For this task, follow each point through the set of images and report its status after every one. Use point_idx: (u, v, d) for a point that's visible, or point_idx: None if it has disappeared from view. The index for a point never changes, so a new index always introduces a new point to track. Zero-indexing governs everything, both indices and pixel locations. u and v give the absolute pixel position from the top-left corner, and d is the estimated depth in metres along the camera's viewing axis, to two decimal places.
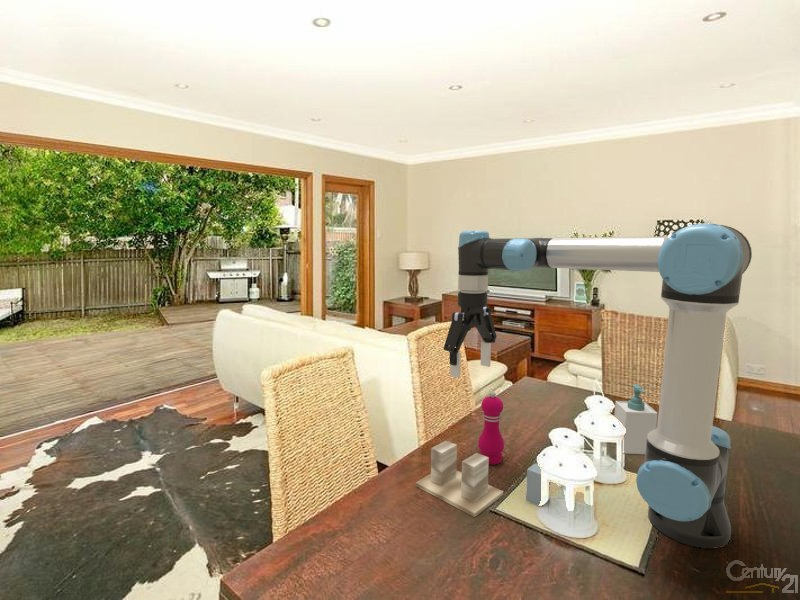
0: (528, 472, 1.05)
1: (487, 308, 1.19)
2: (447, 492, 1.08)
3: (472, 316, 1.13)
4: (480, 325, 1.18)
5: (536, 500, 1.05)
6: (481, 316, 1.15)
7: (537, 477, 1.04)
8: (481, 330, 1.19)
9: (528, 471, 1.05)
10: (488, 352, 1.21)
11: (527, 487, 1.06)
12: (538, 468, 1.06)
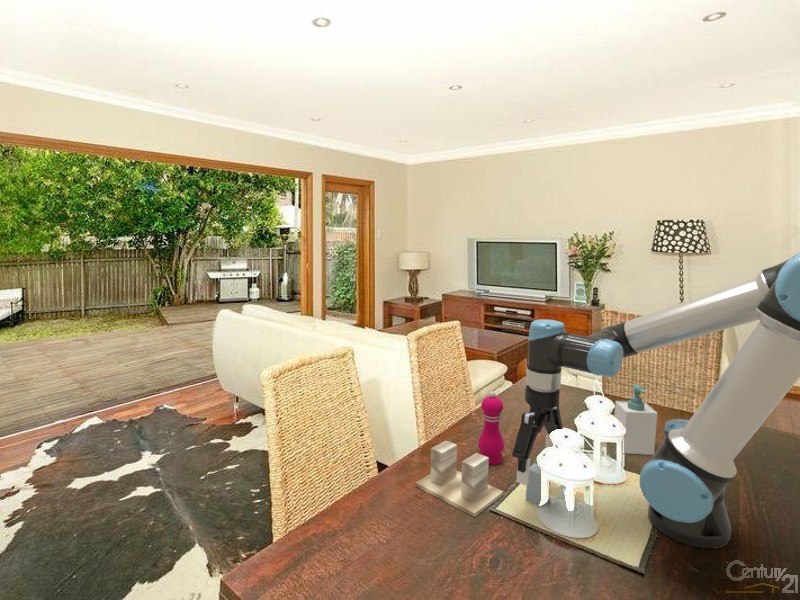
0: None
1: None
2: (447, 492, 1.08)
3: (542, 416, 1.01)
4: (548, 422, 1.06)
5: (536, 500, 1.05)
6: (551, 414, 1.03)
7: (537, 477, 1.04)
8: (549, 426, 1.07)
9: None
10: None
11: (527, 487, 1.06)
12: (538, 468, 1.06)
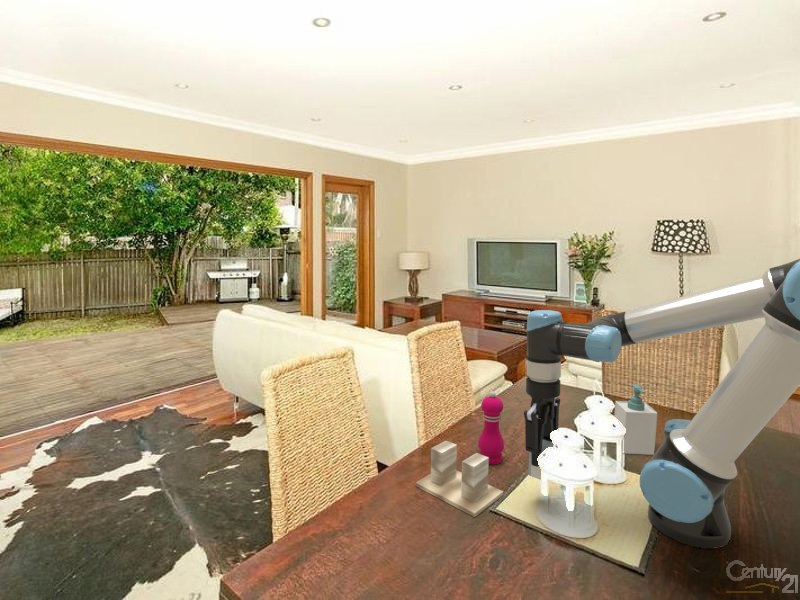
0: None
1: (557, 399, 1.07)
2: (447, 492, 1.08)
3: (544, 408, 1.01)
4: (547, 417, 1.04)
5: None
6: (553, 405, 1.03)
7: None
8: (547, 425, 1.05)
9: None
10: None
11: (529, 461, 1.05)
12: None
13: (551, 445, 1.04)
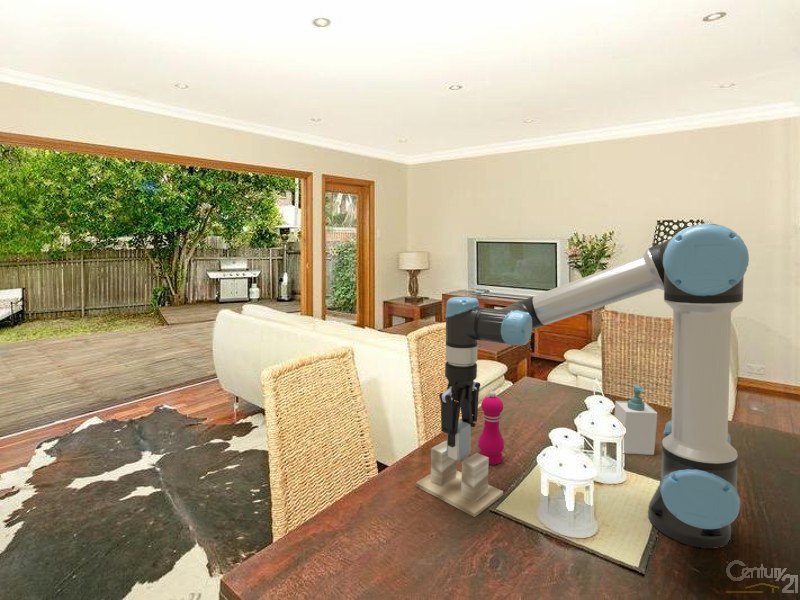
0: None
1: (477, 383, 1.11)
2: (447, 492, 1.08)
3: (460, 391, 1.05)
4: (465, 400, 1.08)
5: None
6: (470, 389, 1.07)
7: None
8: (465, 407, 1.09)
9: None
10: None
11: None
12: (458, 423, 1.09)
13: (468, 426, 1.08)
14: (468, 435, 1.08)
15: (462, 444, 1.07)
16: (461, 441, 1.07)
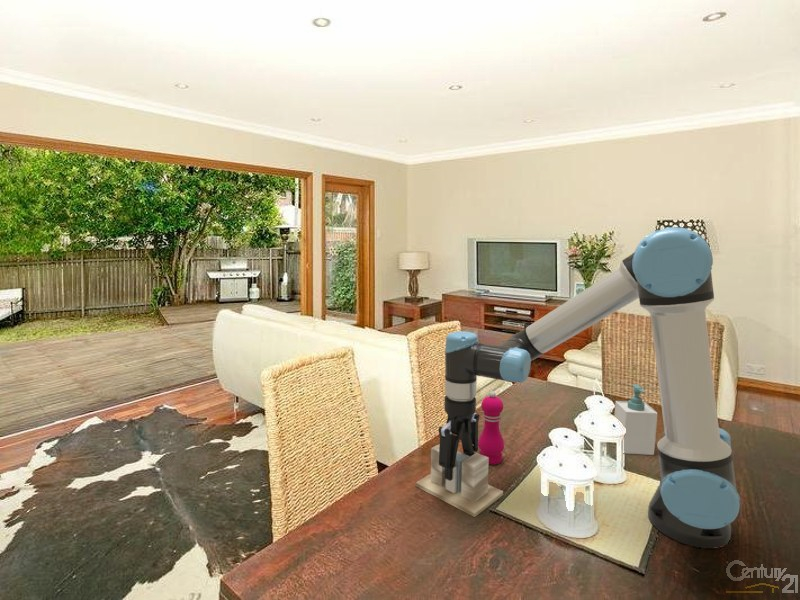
0: None
1: (476, 414, 1.12)
2: (447, 492, 1.08)
3: (459, 425, 1.06)
4: (465, 433, 1.09)
5: None
6: (469, 422, 1.08)
7: None
8: (465, 439, 1.10)
9: None
10: None
11: None
12: (457, 455, 1.10)
13: (466, 458, 1.09)
14: None
15: (461, 476, 1.08)
16: (460, 473, 1.08)
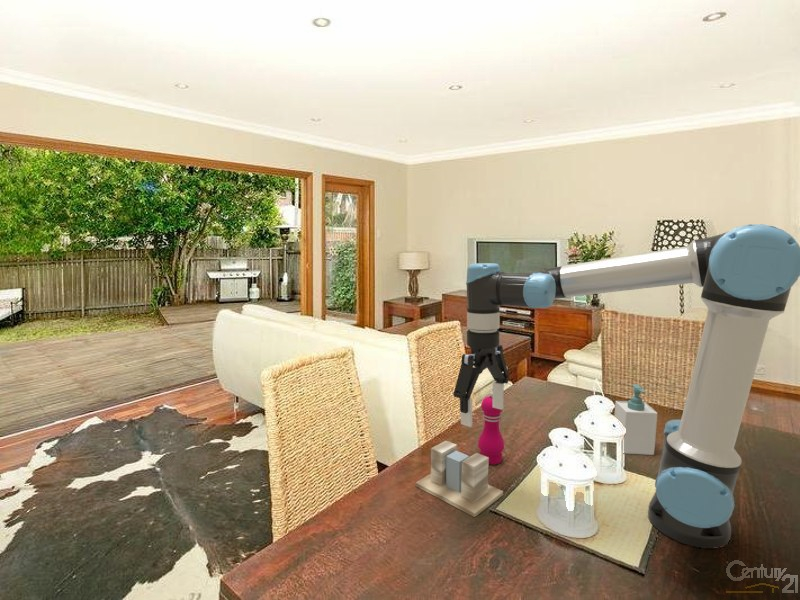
0: (447, 459, 1.10)
1: (499, 346, 1.09)
2: (447, 492, 1.08)
3: (483, 357, 1.03)
4: (492, 365, 1.07)
5: (454, 486, 1.09)
6: (493, 356, 1.05)
7: (454, 464, 1.08)
8: (493, 371, 1.09)
9: (447, 458, 1.10)
10: (501, 394, 1.10)
11: (446, 473, 1.10)
12: (457, 455, 1.10)
13: (466, 458, 1.09)
14: None
15: (461, 476, 1.08)
16: (460, 473, 1.08)
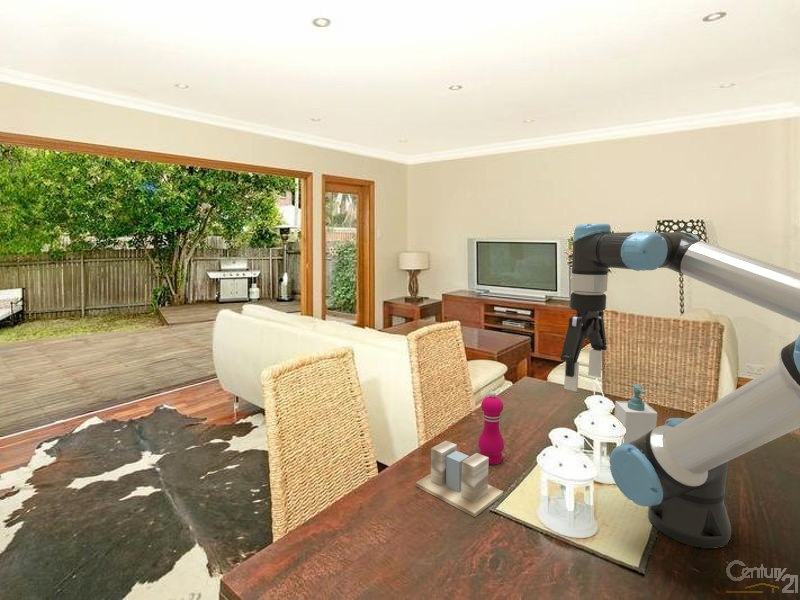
0: (447, 459, 1.10)
1: (600, 311, 1.05)
2: (447, 492, 1.08)
3: (589, 321, 1.00)
4: (593, 331, 1.04)
5: (454, 486, 1.09)
6: (597, 321, 1.02)
7: (454, 464, 1.08)
8: (593, 336, 1.06)
9: (447, 458, 1.10)
10: (599, 361, 1.07)
11: (446, 473, 1.10)
12: (457, 455, 1.10)
13: (466, 458, 1.09)
14: None
15: (461, 476, 1.08)
16: (460, 473, 1.08)
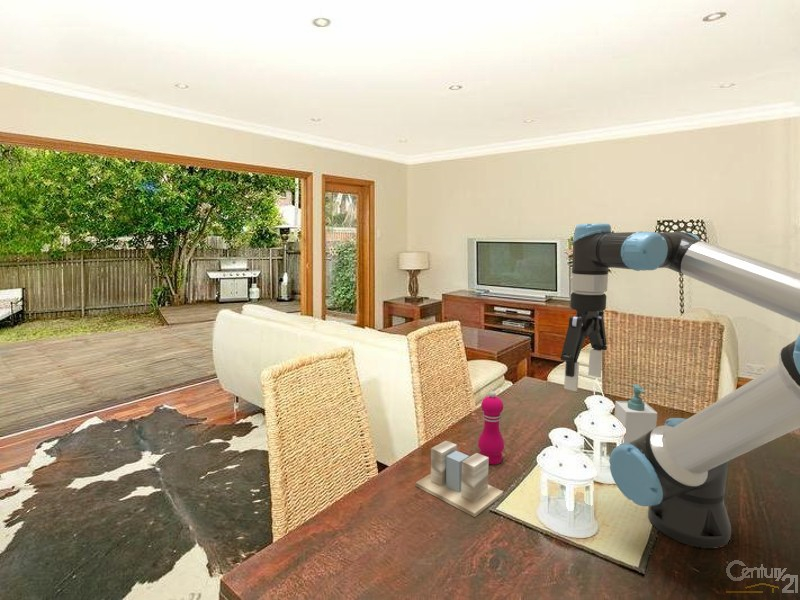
0: (447, 459, 1.10)
1: (600, 311, 1.05)
2: (447, 492, 1.08)
3: (590, 321, 1.00)
4: (594, 331, 1.04)
5: (454, 486, 1.09)
6: (597, 320, 1.02)
7: (454, 464, 1.08)
8: (594, 336, 1.06)
9: (447, 458, 1.10)
10: (599, 361, 1.07)
11: (446, 473, 1.10)
12: (457, 455, 1.10)
13: (466, 458, 1.09)
14: None
15: (461, 476, 1.08)
16: (460, 473, 1.08)
